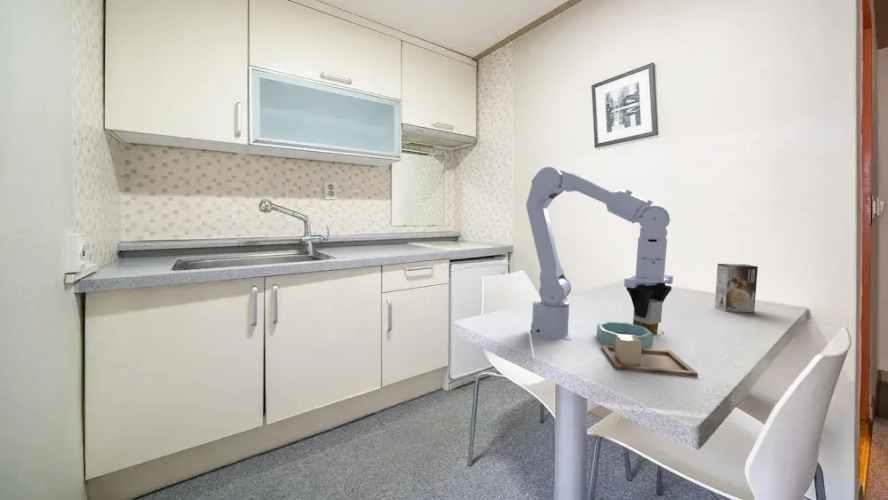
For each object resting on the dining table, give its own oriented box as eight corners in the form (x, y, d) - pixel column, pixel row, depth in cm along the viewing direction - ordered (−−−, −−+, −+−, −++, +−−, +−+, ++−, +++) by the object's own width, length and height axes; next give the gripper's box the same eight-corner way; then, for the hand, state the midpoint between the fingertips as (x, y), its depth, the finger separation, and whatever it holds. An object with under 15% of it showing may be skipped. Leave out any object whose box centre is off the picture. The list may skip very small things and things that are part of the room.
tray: (615, 371, 70) (615, 366, 70) (600, 350, 82) (601, 345, 82) (697, 379, 68) (697, 373, 67) (670, 355, 79) (670, 350, 79)
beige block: (620, 362, 74) (621, 339, 73) (614, 355, 78) (616, 333, 77) (640, 364, 73) (641, 341, 73) (633, 356, 77) (635, 335, 77)
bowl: (604, 348, 83) (605, 334, 83) (593, 332, 94) (594, 320, 94) (657, 352, 81) (658, 338, 81) (639, 336, 92) (640, 323, 92)
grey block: (633, 319, 81) (634, 299, 81) (644, 317, 83) (645, 297, 83) (649, 324, 78) (651, 303, 77) (660, 322, 80) (662, 301, 79)
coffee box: (742, 308, 124) (746, 264, 122) (754, 312, 117) (759, 266, 116) (713, 306, 125) (717, 263, 124) (724, 311, 119) (728, 265, 117)
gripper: (647, 261, 73) (642, 324, 74) (688, 259, 79) (683, 316, 80) (617, 257, 79) (614, 315, 80) (657, 255, 85) (653, 309, 86)
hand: (646, 315), depth 81 cm, fingers closed on grey block, 4 cm apart
